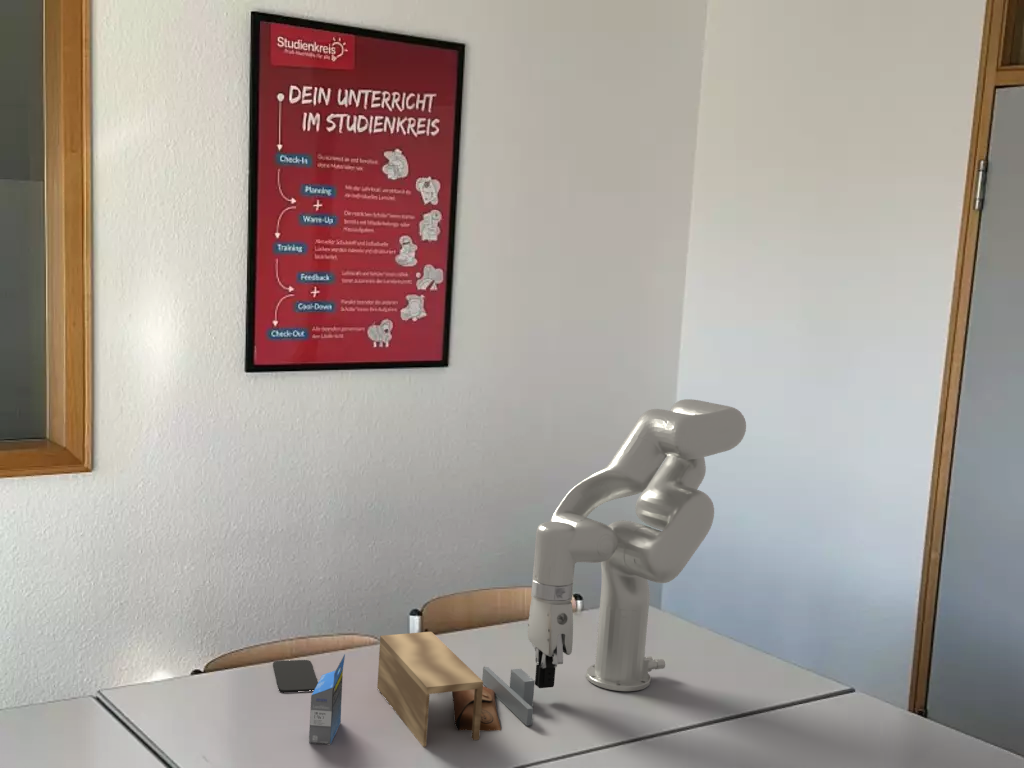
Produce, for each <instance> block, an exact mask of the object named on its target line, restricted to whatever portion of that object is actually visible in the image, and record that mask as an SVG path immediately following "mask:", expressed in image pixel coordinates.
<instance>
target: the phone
mask: <svg viewBox="0 0 1024 768" xmlns="http://www.w3.org/2000/svg"><path fill="white" fill-rule="evenodd" d="M272 667H273V672H274V676H275V682H276V685H278V686H277V689H279V690H278V692H279V691H280V692H279V693H281V692H283V693H282V694H285V693H284V692H298V691H309V690H311V691H312V690H315V688H316V686H317V684H318V682H319V680H318V678H317V676H316V672H315V670H314V669H315V668H314V666H313V664H312V661H311V660H309V659H293V660H292V659H291V660H290V661H289V659H288V660H276V661H275V660H274V661H273V662H272Z"/></svg>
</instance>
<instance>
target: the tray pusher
mask: <svg viewBox="0 0 1024 768" xmlns="http://www.w3.org/2000/svg"><path fill="white" fill-rule="evenodd" d="M509 677H510V680H509V685H508V684H507V683H506V681H504V680H503V679H501V677H500V676H499V675H497V673H495V671H493V670H492V669H491V668H490V667H489V666H485V667H482V679H481V680H482V681H483V686H484V687H487V688H489V689H492V690H493V691H494V692H495V697H496V698H497V699H498V700H499V701H500V702H501V703H503V705H505V707H507V708H508V709H509V711H511V712H512V713H513V714H514V715H515V716H516V717H517V718H518V719H519V720H520V721H521V722H522V723H523V724H524V725H525V726H527V727H528V726H533V725H532V724H533V714H534V708H533V706H534V692H535V680H534V679H533V678H532V677H531V676H530V675H529V674H528V673H526V672H525V671H524V670H523V669H522V668H514V669H513V668H511V669H510V676H509Z"/></svg>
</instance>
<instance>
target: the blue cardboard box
mask: <svg viewBox="0 0 1024 768" xmlns="http://www.w3.org/2000/svg"><path fill="white" fill-rule="evenodd" d="M345 659H346V654H345V653H344V654H343V656H342V658H341V661H339V664H338V666H337V668H336V669H335V670H333V671H330V672H327V673H324V674H322V675H320V679H319V680H318V684H317V686H316V688H315V690H314V691H313V692H311V693H312V694H311V696H310V714H309V715H310V716H309V731H308V732H309V733H308V743H309V744H313V743H316V745H327V744H330V745H331V744H332V742H333V741H334V738H335V736H336V733H337V732H338V730H339V727H340V725H341V722H342V719H341V718H342V717H341V716H342V696H343V695H342V694H343V678H344V677H343V673H344V664H345Z"/></svg>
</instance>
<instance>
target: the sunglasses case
mask: <svg viewBox="0 0 1024 768" xmlns="http://www.w3.org/2000/svg"><path fill="white" fill-rule="evenodd" d="M451 693H452V694H451V696H452V705H453V716H454V717H453V718H454V725H455V728H456V729H457V731H472V722H473V708H474V693H475V689H472V690H463V691H454V692H451ZM501 730H502V727H501V723H500V719H499V716H498V709H497V703H496V696H495V692H494V691H493V690H492V689H489V688H487V687H486V686H485V685H483V692H482V706H481V720H480V731H482V732H483V731H484V732H485V731H486V732H490V731H492V732H493V731H494V732H495V731H498V732H499V731H501Z"/></svg>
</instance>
